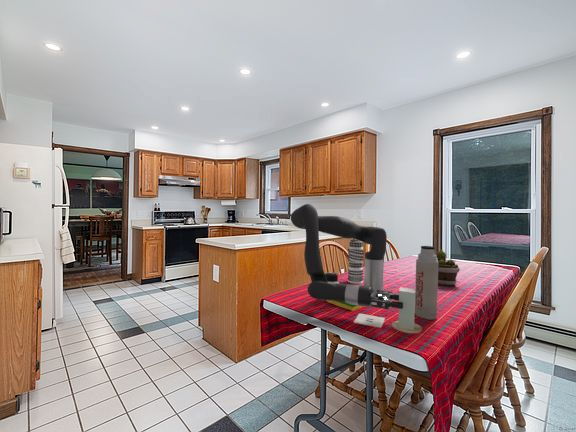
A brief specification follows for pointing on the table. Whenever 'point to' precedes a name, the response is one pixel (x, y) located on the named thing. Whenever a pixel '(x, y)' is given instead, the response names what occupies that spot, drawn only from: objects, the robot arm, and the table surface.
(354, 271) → the decorative candle
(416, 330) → the cork coaster
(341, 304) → the dish sponge
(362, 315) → the tile
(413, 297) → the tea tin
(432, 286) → the thermos bottle
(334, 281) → the medicine bottle
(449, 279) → the flowerpot
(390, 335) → the table surface
